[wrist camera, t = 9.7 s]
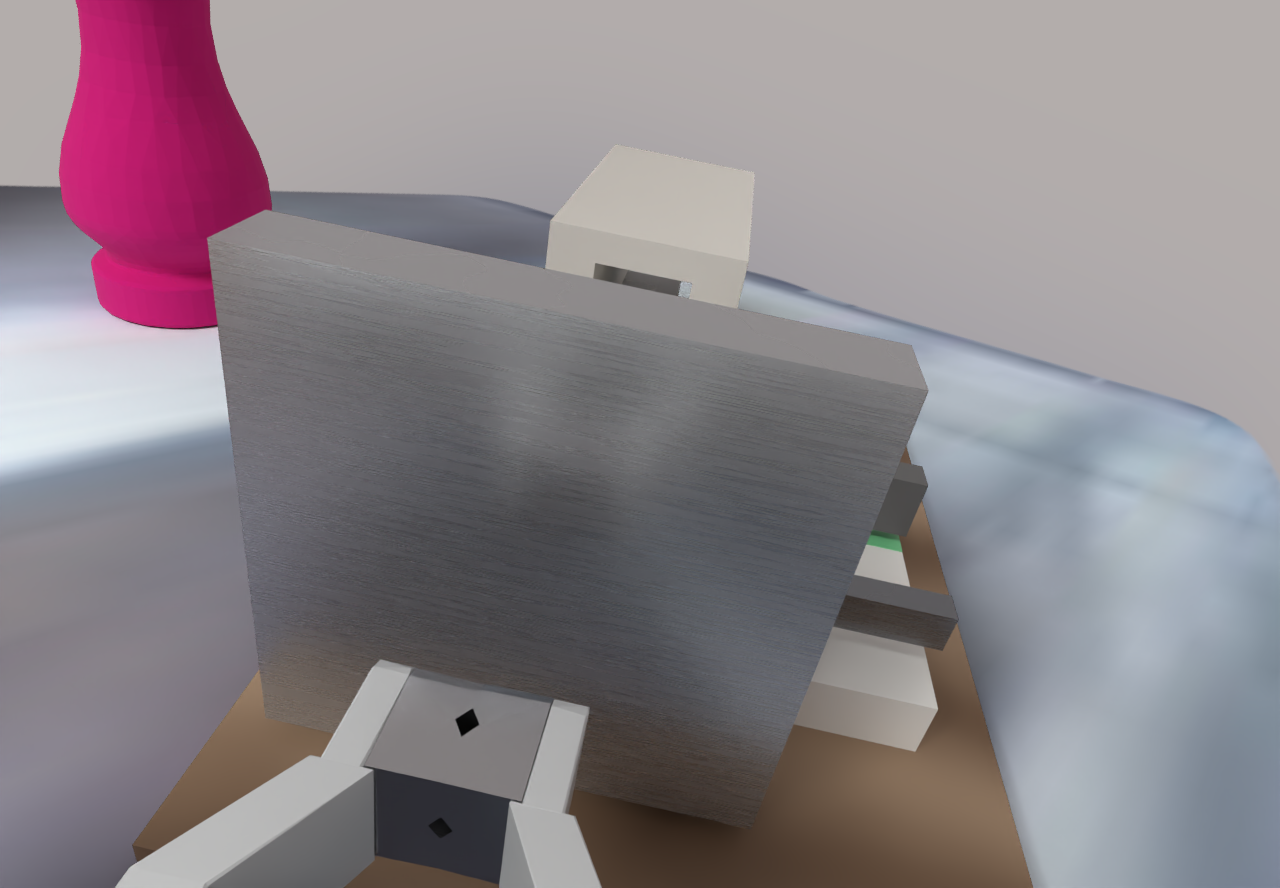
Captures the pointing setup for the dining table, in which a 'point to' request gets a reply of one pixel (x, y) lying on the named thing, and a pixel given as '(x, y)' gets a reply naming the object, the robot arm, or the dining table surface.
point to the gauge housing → (658, 223)
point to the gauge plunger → (556, 496)
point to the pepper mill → (155, 158)
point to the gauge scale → (872, 672)
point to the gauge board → (712, 851)
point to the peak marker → (902, 500)
